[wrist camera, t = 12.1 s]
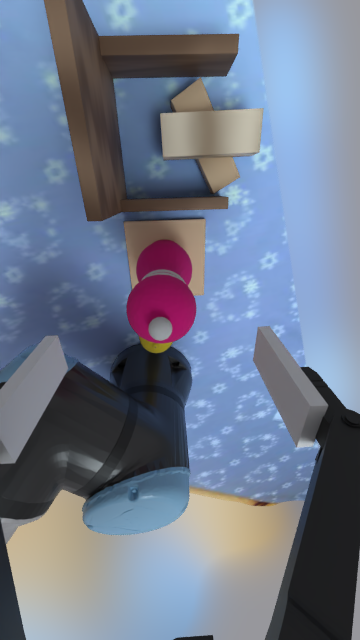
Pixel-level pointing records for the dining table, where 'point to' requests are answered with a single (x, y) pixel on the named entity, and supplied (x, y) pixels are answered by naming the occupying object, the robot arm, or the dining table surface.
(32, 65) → the dining table surface
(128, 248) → the cork mat
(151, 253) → the pepper mill
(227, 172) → the offcut bottom
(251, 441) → the dining table surface
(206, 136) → the offcut top
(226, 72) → the rack
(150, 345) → the lemon
